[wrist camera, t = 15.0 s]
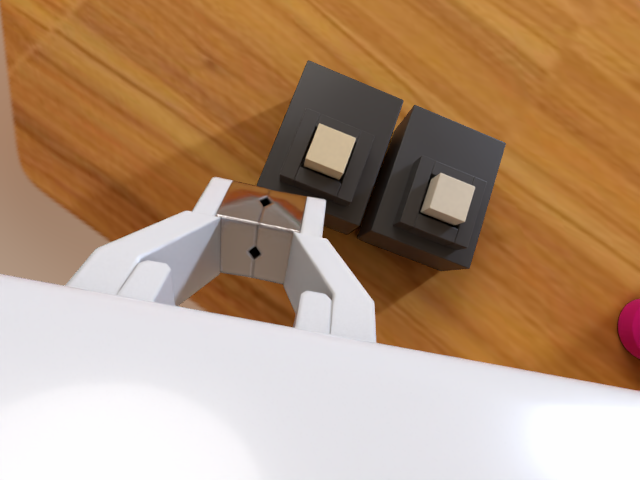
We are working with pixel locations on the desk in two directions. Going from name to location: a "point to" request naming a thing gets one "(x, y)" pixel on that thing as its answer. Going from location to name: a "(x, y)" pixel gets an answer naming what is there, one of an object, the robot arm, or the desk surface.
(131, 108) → the desk surface
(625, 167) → the desk surface
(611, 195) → the desk surface
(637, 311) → the pepper mill
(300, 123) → the high key box
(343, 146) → the high key
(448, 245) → the low key box
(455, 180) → the low key
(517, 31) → the desk surface
